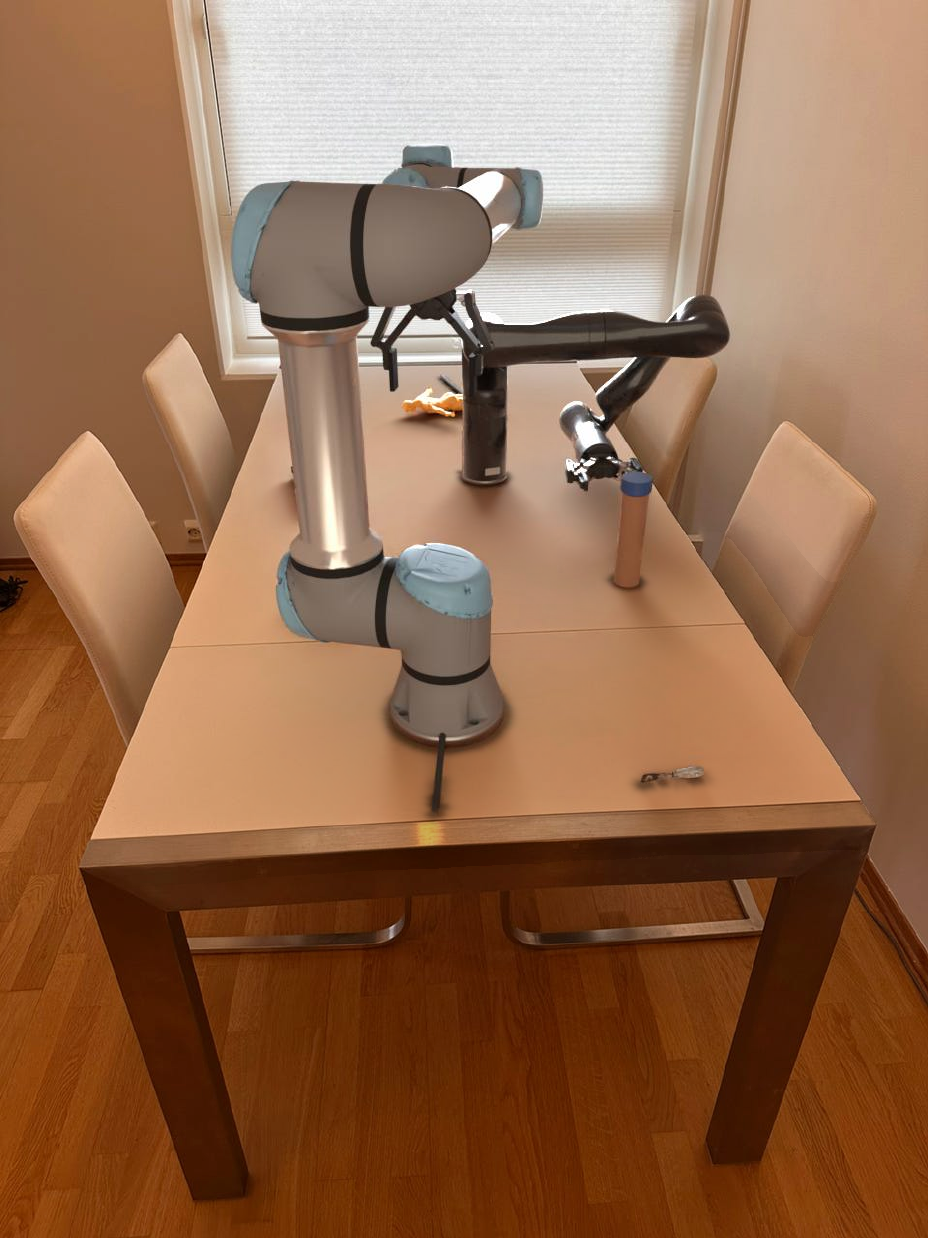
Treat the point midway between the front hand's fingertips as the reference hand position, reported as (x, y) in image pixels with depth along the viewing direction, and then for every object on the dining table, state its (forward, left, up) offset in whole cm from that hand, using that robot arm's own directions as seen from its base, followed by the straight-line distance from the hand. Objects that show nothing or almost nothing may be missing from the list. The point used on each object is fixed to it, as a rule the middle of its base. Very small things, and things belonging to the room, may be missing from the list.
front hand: (433, 391), depth 149 cm
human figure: (+71, +14, -28) cm, 78 cm away
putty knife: (-57, -43, -28) cm, 77 cm away
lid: (-8, -35, -9) cm, 37 cm away
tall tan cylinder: (-8, -35, -28) cm, 46 cm away
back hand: (+12, -30, -19) cm, 38 cm away
